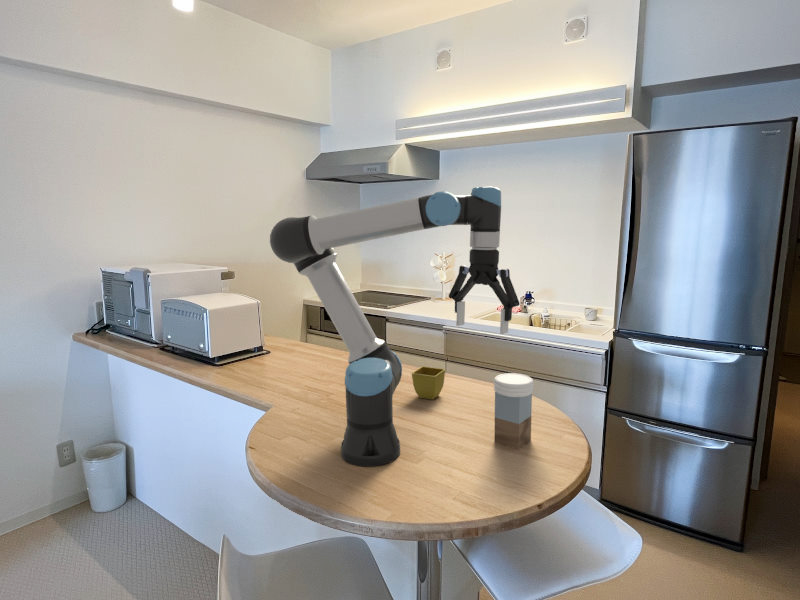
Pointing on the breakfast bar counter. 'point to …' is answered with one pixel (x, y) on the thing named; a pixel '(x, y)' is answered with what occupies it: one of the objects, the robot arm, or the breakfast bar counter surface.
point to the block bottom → (512, 433)
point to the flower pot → (428, 382)
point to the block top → (513, 408)
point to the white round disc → (513, 385)
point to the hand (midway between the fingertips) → (481, 329)
